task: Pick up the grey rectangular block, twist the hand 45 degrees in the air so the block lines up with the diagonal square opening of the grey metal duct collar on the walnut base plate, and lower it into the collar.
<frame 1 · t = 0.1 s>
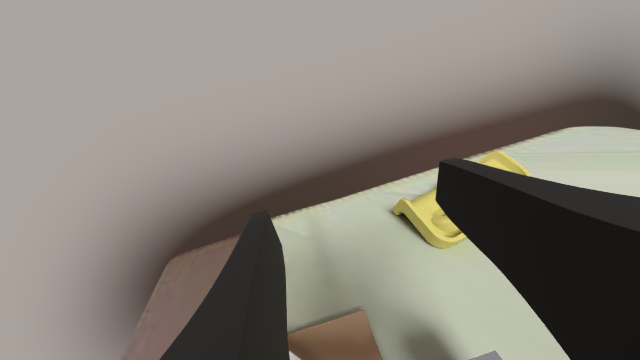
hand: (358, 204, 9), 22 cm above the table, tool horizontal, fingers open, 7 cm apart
plastic component: (460, 214, 38), on the table
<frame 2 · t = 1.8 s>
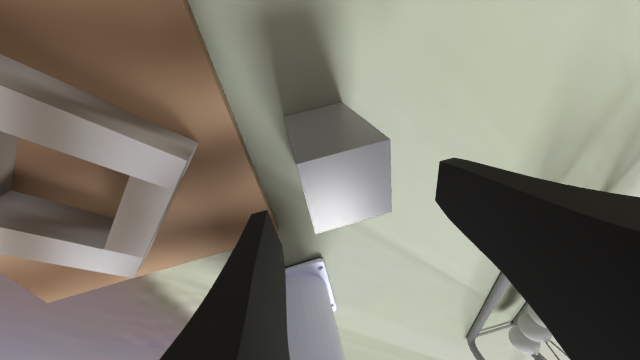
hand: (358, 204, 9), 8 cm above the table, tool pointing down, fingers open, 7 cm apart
grey rectangular block: (318, 137, 16), on the table
newton's cradle: (516, 284, 36), on the table
duct base: (93, 164, 14), on the table
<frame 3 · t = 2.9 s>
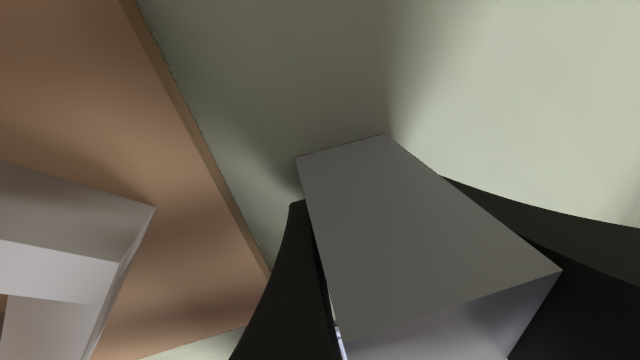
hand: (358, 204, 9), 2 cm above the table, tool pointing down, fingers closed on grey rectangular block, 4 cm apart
grey rectangular block: (346, 183, 11), on the table, touching gripper
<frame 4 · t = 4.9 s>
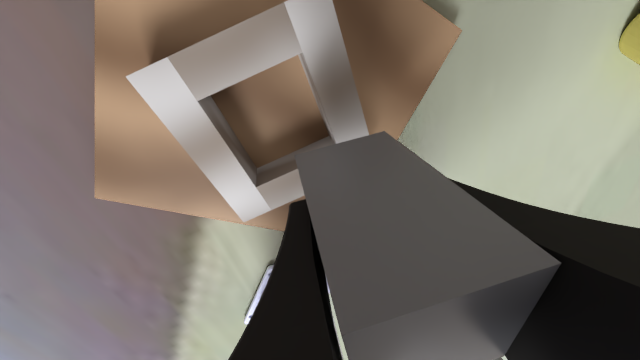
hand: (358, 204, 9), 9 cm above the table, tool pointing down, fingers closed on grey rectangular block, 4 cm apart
grey rectangular block: (345, 181, 11), point 7 cm above the table, touching gripper
duct base: (274, 111, 15), on the table
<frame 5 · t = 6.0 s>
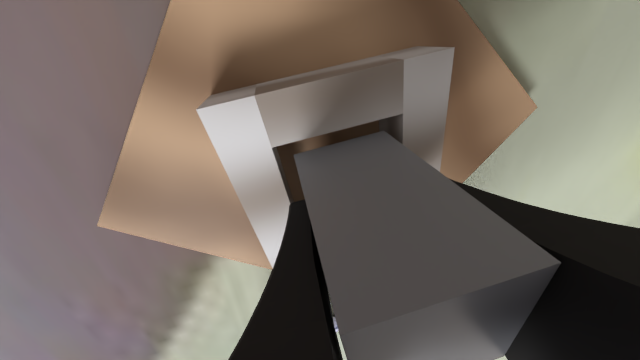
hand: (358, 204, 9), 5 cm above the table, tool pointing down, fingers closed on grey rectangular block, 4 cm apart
grey rectangular block: (345, 181, 11), point 3 cm above the table, touching gripper
duct base: (329, 154, 14), on the table
when the fingers open (4 cm above the table, at t = 7.0 s): grey rectangular block drops 1 cm, resting on duct base.
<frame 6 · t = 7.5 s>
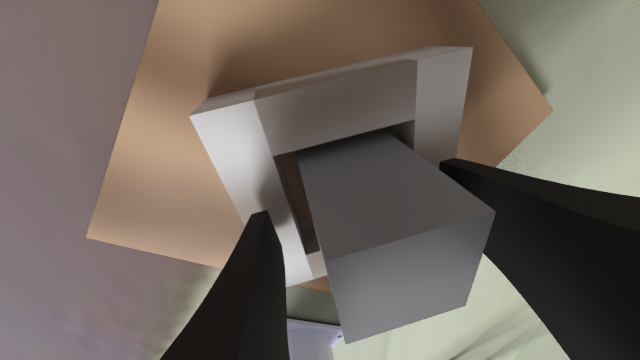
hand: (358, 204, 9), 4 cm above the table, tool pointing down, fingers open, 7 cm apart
grey rectangular block: (338, 166, 12), point 1 cm above the table, touching duct base
duct base: (333, 160, 13), on the table
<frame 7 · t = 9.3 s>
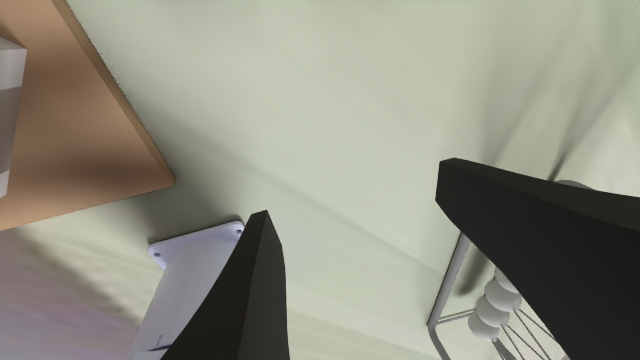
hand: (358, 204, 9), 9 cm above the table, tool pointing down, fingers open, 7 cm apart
newton's cradle: (475, 266, 33), on the table
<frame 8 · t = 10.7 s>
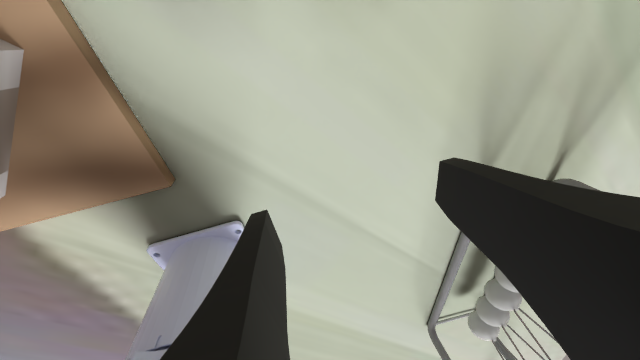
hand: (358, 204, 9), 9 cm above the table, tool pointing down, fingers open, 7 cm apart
newton's cradle: (475, 265, 33), on the table
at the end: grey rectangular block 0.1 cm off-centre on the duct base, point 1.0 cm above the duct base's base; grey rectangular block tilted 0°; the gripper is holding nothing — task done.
